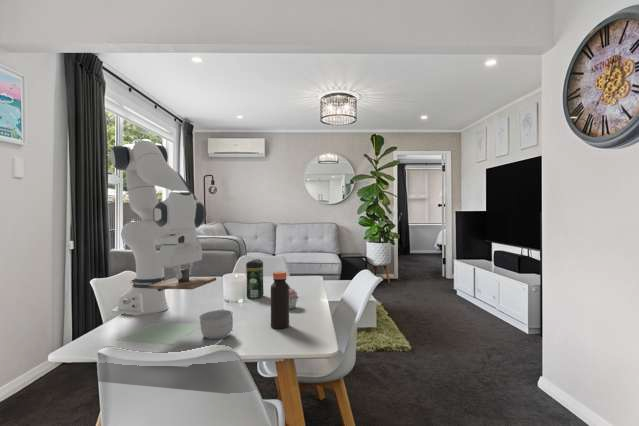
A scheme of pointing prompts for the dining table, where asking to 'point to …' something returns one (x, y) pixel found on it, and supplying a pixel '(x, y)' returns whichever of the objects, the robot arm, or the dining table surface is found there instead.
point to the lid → (182, 282)
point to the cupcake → (292, 298)
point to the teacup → (216, 324)
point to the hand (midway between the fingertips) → (183, 277)
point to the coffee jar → (254, 279)
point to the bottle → (279, 301)
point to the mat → (161, 333)
